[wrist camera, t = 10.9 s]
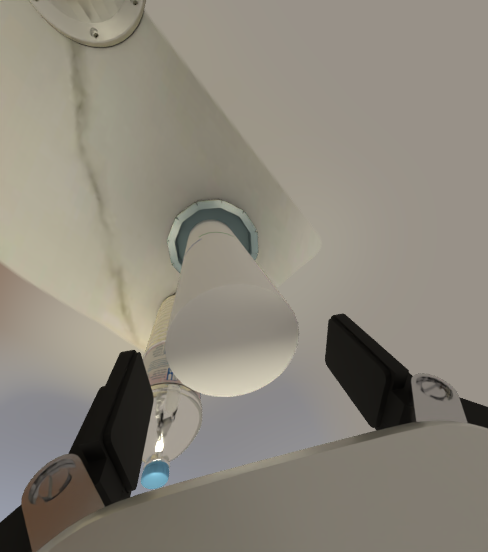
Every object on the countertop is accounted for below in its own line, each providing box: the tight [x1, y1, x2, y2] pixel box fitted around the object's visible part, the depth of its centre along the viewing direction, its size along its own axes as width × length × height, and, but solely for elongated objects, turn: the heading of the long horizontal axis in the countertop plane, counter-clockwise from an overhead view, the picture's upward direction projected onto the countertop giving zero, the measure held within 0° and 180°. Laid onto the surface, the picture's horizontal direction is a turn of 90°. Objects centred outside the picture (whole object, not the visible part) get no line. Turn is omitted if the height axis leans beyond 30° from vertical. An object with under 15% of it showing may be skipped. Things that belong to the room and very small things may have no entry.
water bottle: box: [141, 294, 202, 489], centre depth 28 cm, size 7×7×25 cm
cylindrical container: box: [165, 220, 299, 397], centre depth 24 cm, size 7×7×25 cm
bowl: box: [167, 199, 258, 273], centre depth 35 cm, size 13×13×3 cm
